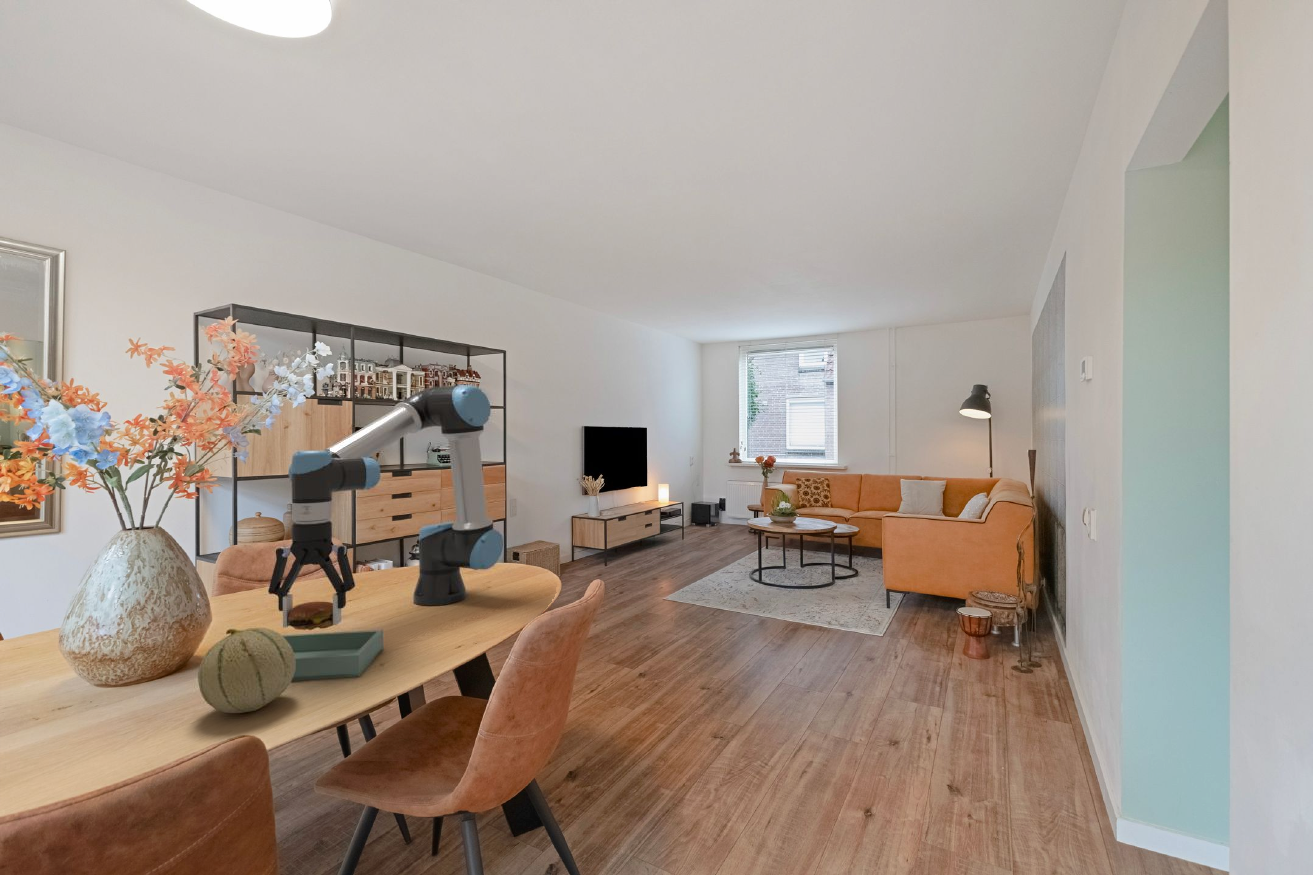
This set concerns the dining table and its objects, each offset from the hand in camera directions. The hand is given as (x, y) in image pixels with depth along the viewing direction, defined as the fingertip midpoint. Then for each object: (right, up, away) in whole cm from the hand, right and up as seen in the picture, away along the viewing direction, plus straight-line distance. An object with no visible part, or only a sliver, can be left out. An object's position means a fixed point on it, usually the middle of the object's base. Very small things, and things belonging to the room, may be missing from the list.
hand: (312, 624), depth 128 cm
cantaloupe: (0, -9, -20) cm, 22 cm away
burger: (0, -1, 0) cm, 1 cm away
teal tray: (0, -9, 0) cm, 9 cm away
